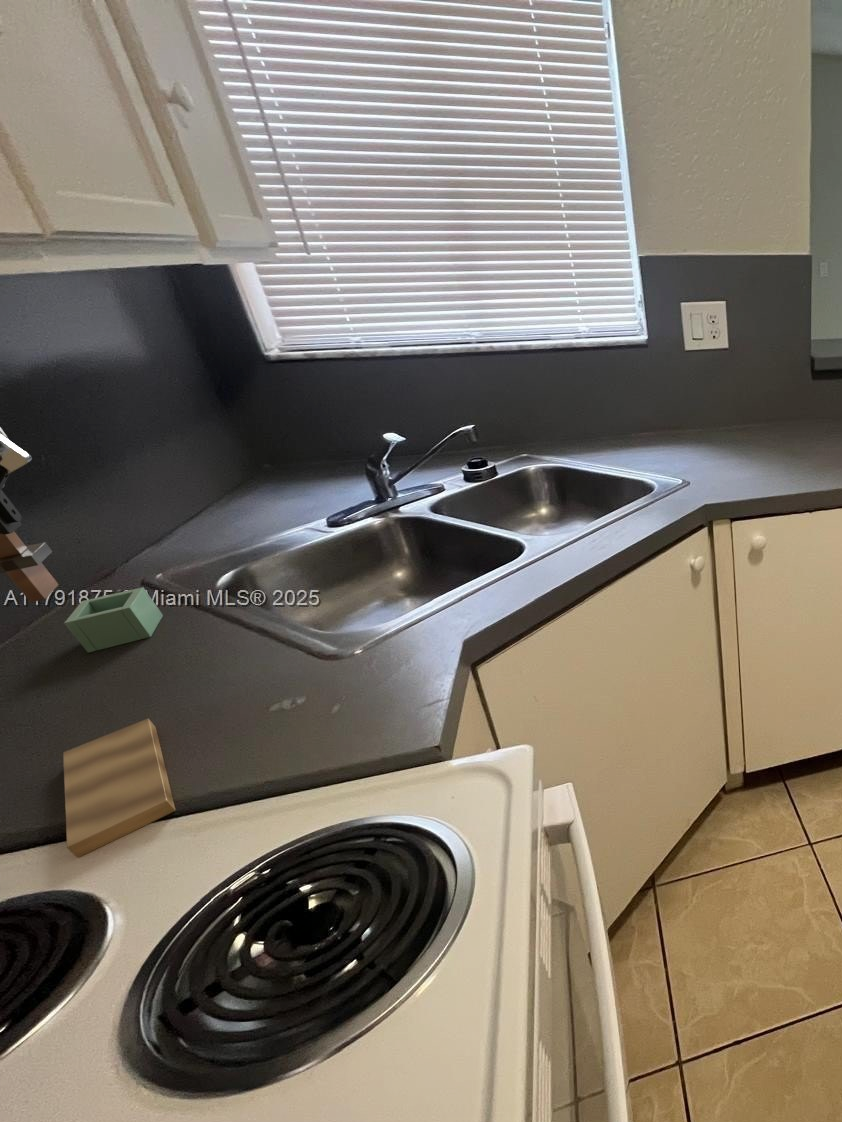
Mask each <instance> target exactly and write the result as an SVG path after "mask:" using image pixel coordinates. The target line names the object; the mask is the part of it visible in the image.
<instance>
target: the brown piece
mask: <svg viewBox="0 0 842 1122" xmlns="http://www.w3.org/2000/svg"><path fill="white" fill-rule="evenodd" d="M52 553H53V550H52V548H51V547H50V546H49V545H48V543H47V542H40V543H39V542H38V543H36V544H28V545H25V543H24V542H23V541H22V540H21V538H20V537H19V536H18V534H17V533H16V532H15V531H14V532H13V533H11V534H5V535H4V534H0V574H4V573H6V575H7V576H8V577H9V578H10V579H11V581H12V582H13V583H14V584H15V586H16V587H17V588H18V589H19V590H20V592H21V593H22V594H23V595H24V597H25V598H26V599H27V600H28V601H29V603H35V602H39V601H44V600H46V599H47V598H48V597H49V596H50V595H51V594H52V592H54V591H55V589H57V587H59V583H58V581H57V580H56V579H55V578H54V577H53V575H52V574H51V573H50V572H49V570H48V569H47V568H46V566H45V565H44V564H43V561H45V560H46V558H48V557H49V556H50V555H51V554H52Z"/></svg>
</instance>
